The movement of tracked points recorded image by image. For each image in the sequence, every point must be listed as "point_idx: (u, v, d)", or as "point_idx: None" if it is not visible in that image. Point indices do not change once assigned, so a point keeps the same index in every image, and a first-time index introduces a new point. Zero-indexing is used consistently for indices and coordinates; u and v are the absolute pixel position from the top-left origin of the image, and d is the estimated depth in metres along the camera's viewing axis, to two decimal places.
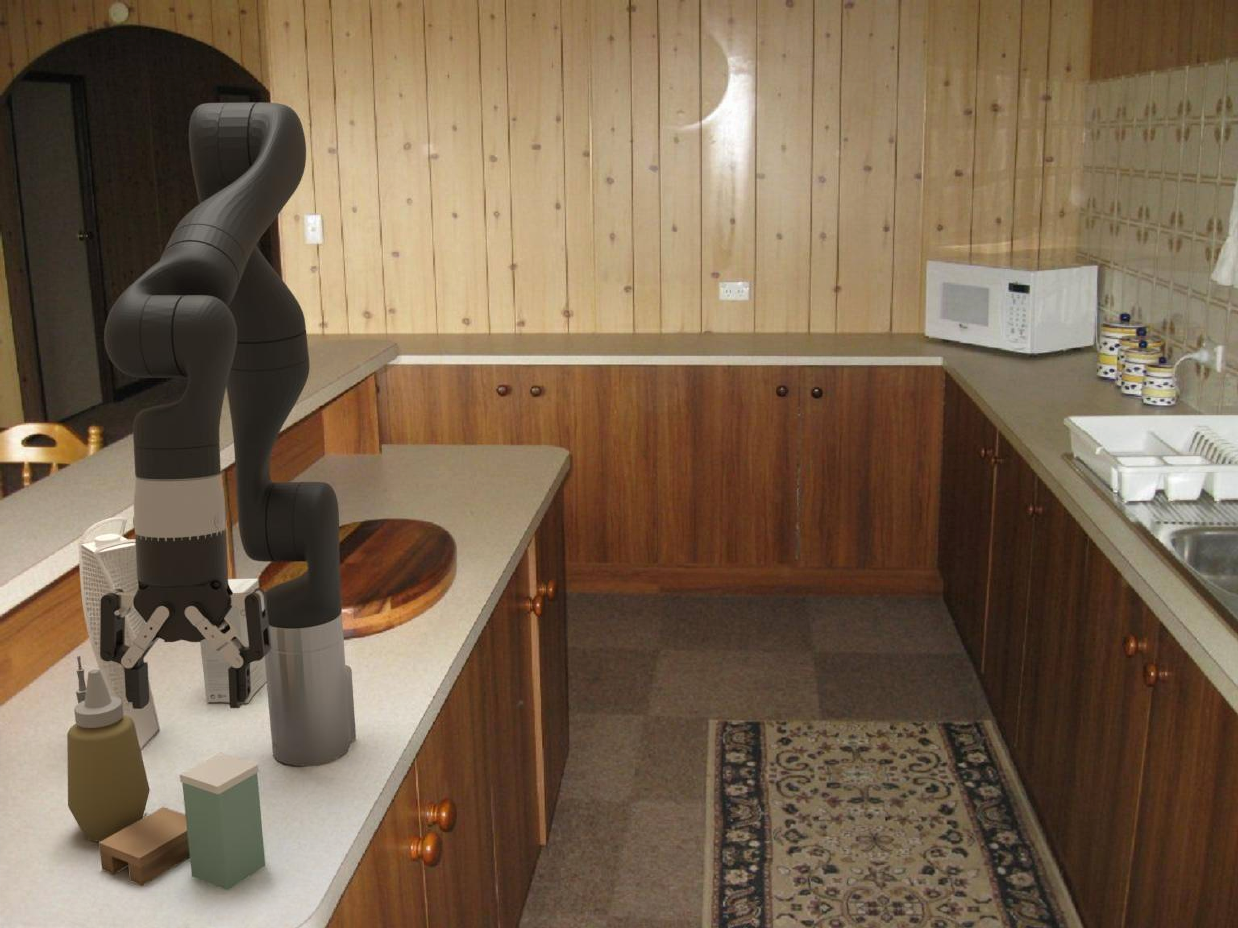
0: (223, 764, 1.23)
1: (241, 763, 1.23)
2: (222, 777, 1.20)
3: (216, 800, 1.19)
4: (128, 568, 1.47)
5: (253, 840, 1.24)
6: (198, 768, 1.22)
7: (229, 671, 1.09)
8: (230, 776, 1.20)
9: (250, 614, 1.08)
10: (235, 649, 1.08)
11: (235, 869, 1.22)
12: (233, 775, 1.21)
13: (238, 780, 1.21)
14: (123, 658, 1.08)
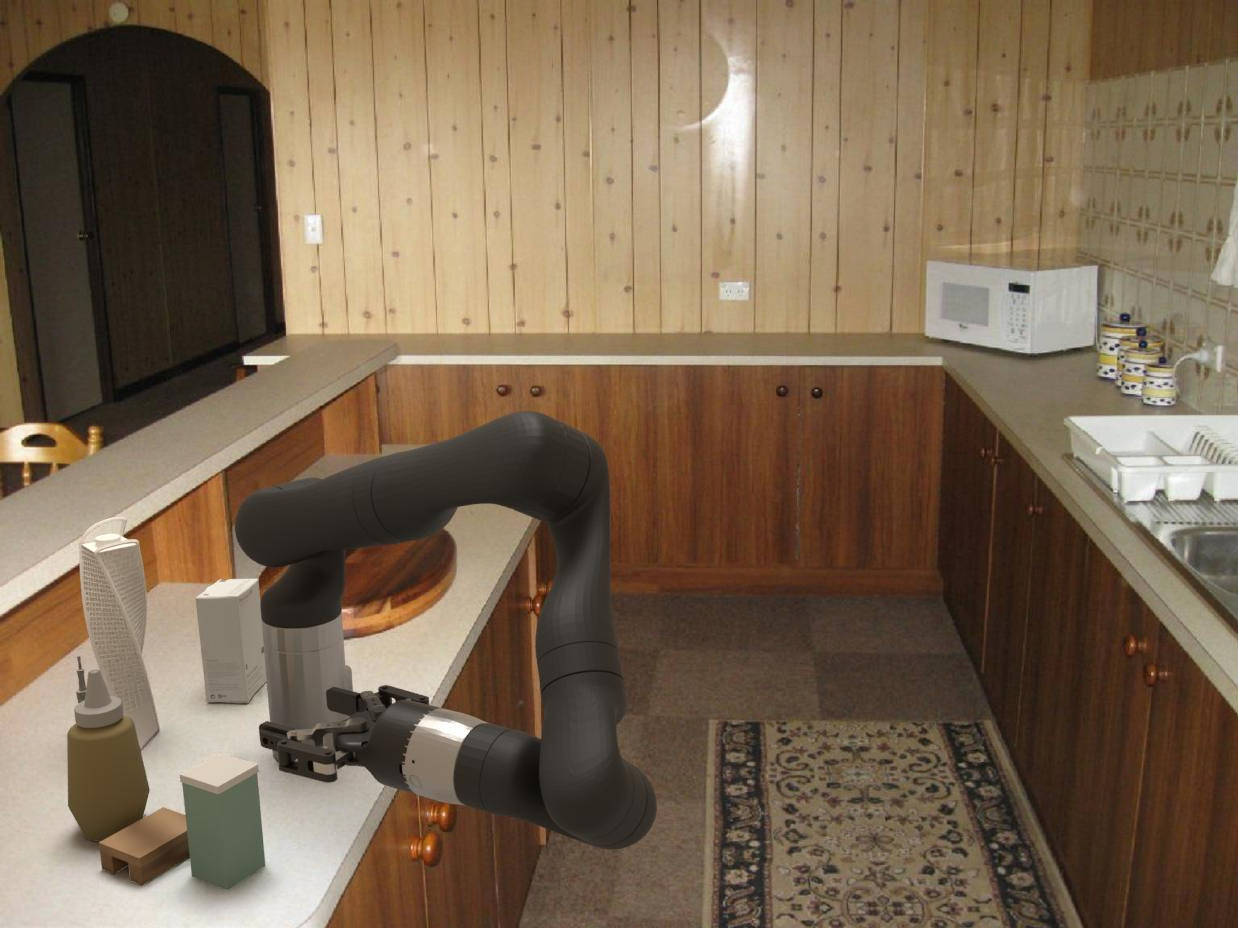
0: (223, 764, 1.23)
1: (241, 763, 1.23)
2: (222, 777, 1.20)
3: (216, 800, 1.19)
4: (128, 568, 1.47)
5: (253, 840, 1.24)
6: (198, 768, 1.22)
7: None
8: (229, 776, 1.20)
9: None
10: None
11: (235, 869, 1.22)
12: (233, 775, 1.21)
13: (238, 780, 1.21)
14: (294, 760, 1.08)
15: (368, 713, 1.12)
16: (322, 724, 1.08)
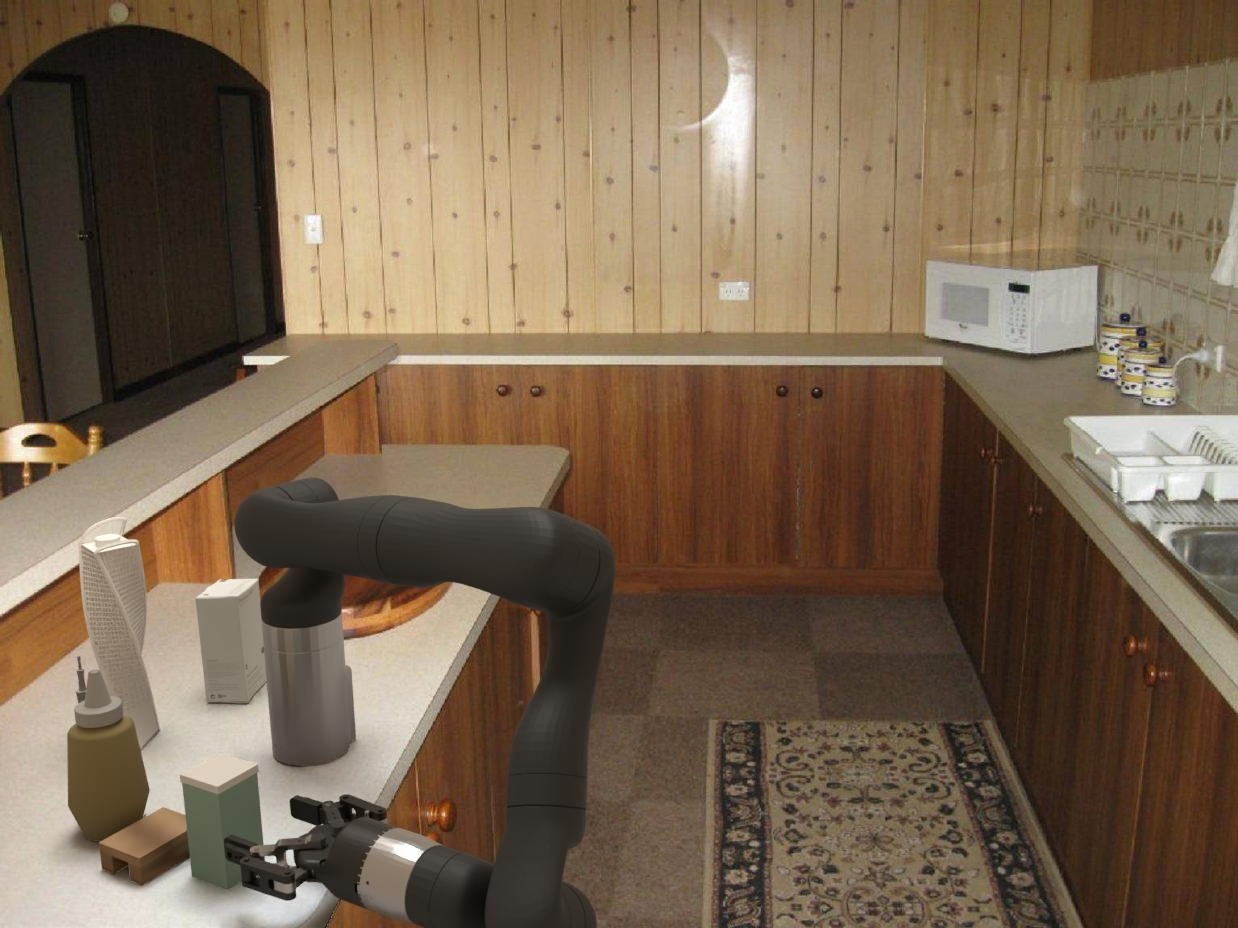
0: (223, 764, 1.23)
1: (241, 763, 1.23)
2: (222, 777, 1.20)
3: (216, 800, 1.19)
4: (128, 568, 1.47)
5: (253, 840, 1.24)
6: (198, 768, 1.22)
7: (317, 825, 1.23)
8: (229, 776, 1.20)
9: None
10: None
11: (235, 869, 1.22)
12: (233, 775, 1.21)
13: (238, 780, 1.21)
14: None
15: (328, 826, 1.18)
16: (283, 841, 1.14)
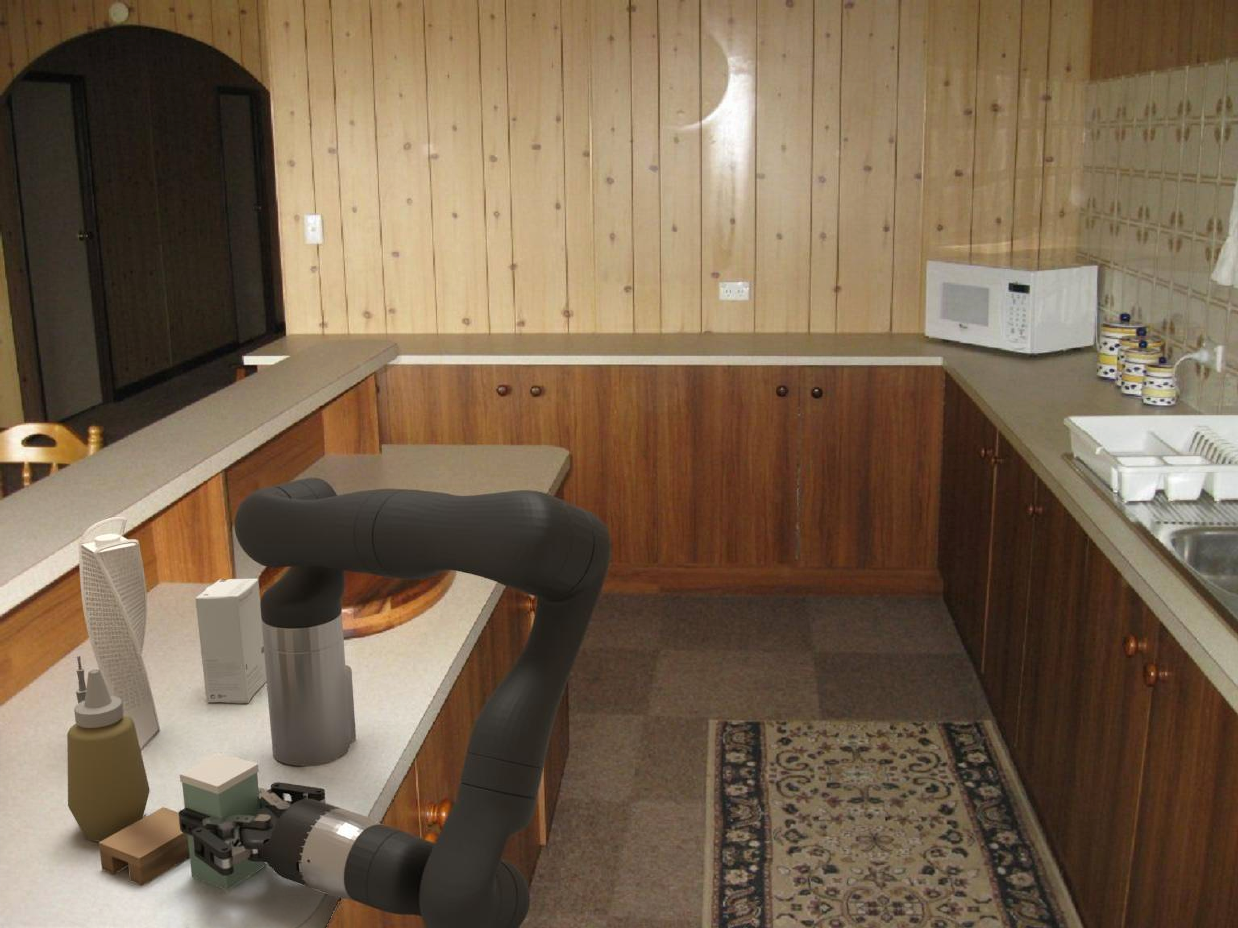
0: (223, 764, 1.23)
1: (241, 763, 1.23)
2: (222, 777, 1.20)
3: (216, 800, 1.19)
4: (128, 568, 1.47)
5: None
6: (198, 768, 1.22)
7: None
8: (229, 776, 1.20)
9: None
10: None
11: (234, 868, 1.22)
12: (233, 775, 1.21)
13: (238, 780, 1.21)
14: None
15: (270, 810, 1.21)
16: (233, 816, 1.19)
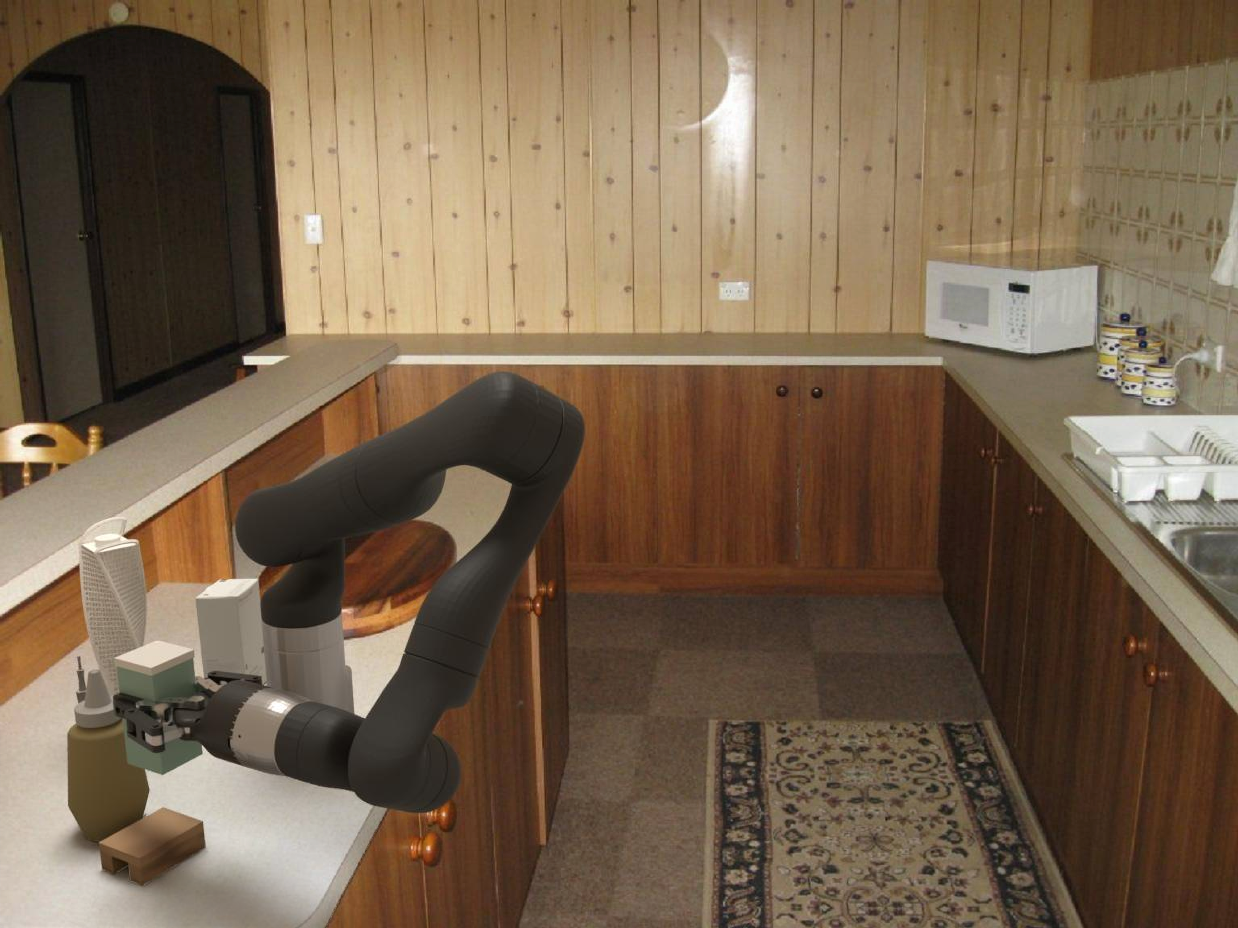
0: (158, 649, 1.22)
1: (177, 648, 1.22)
2: (156, 660, 1.19)
3: (150, 682, 1.18)
4: (128, 568, 1.47)
5: None
6: (133, 653, 1.21)
7: None
8: (164, 659, 1.19)
9: None
10: None
11: (170, 754, 1.21)
12: (168, 658, 1.20)
13: (173, 664, 1.20)
14: None
15: (205, 694, 1.20)
16: (166, 698, 1.18)
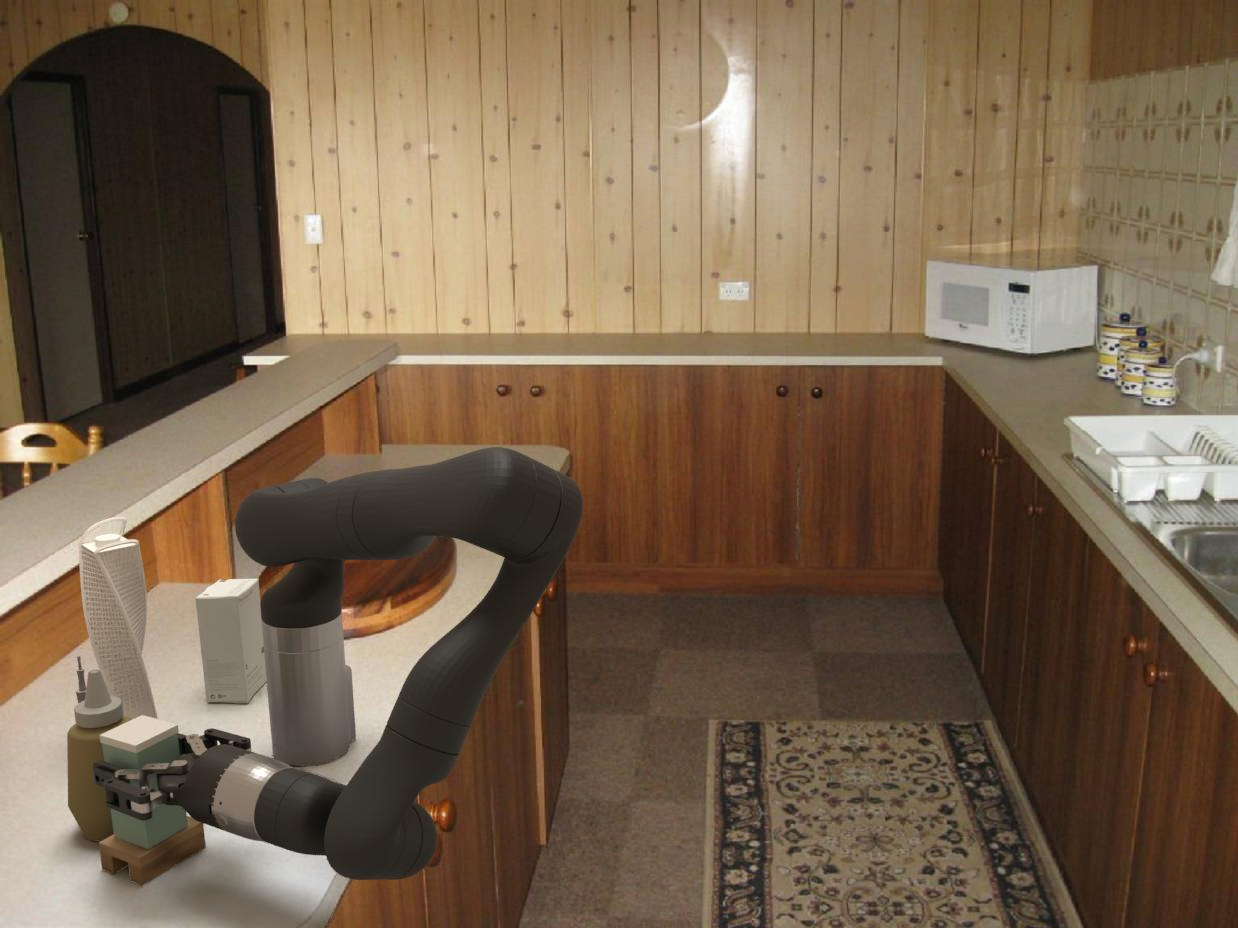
0: (143, 725, 1.25)
1: (161, 724, 1.25)
2: (141, 737, 1.22)
3: (134, 759, 1.21)
4: (128, 568, 1.47)
5: None
6: (118, 729, 1.24)
7: None
8: (148, 736, 1.22)
9: None
10: None
11: (155, 828, 1.23)
12: (152, 735, 1.22)
13: (157, 740, 1.22)
14: None
15: (192, 756, 1.23)
16: (147, 765, 1.19)
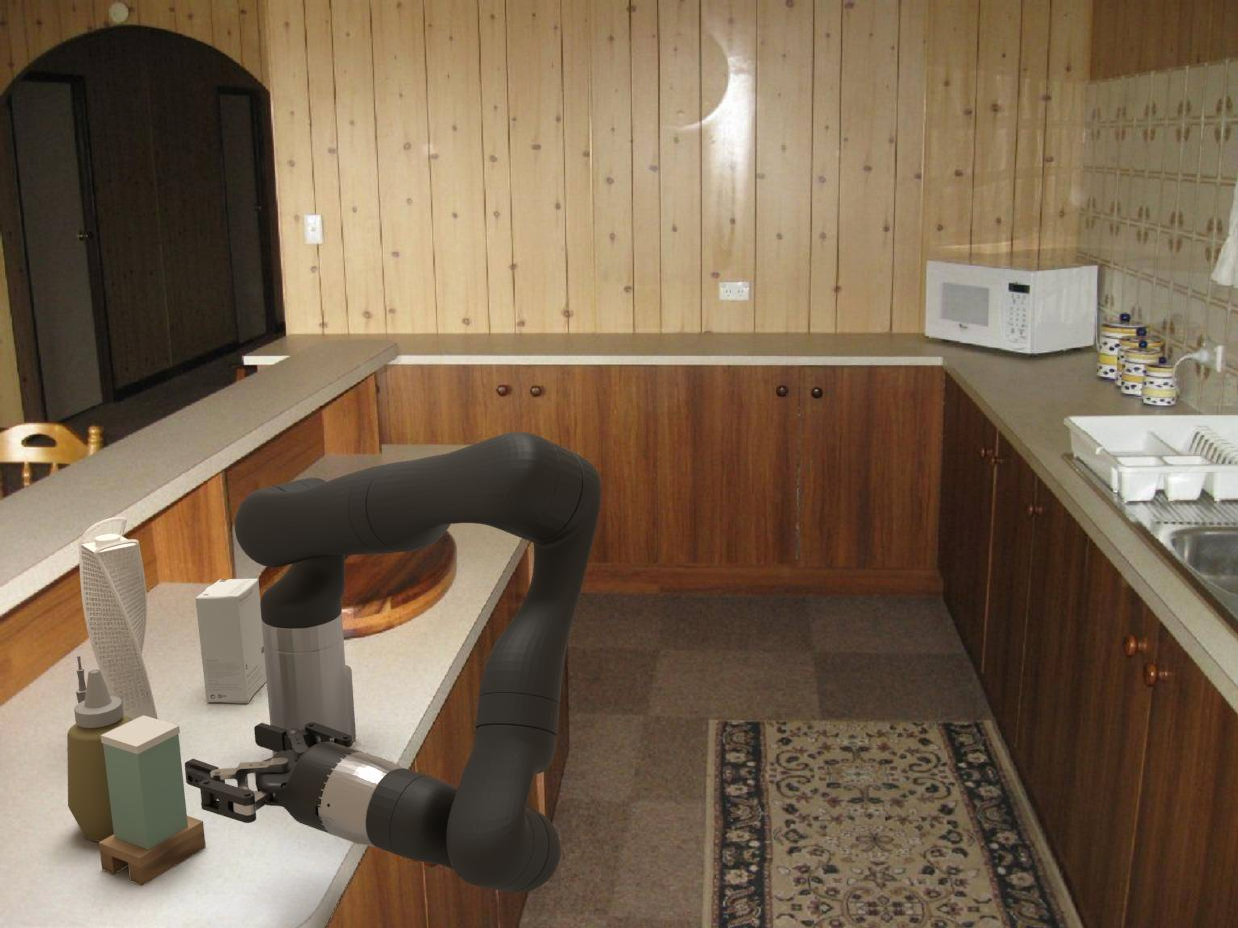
0: (144, 725, 1.25)
1: (162, 725, 1.25)
2: (142, 738, 1.22)
3: (136, 760, 1.21)
4: (128, 568, 1.47)
5: (175, 801, 1.25)
6: (119, 729, 1.24)
7: None
8: (149, 737, 1.22)
9: None
10: None
11: (156, 828, 1.23)
12: (153, 736, 1.22)
13: (158, 741, 1.22)
14: (217, 798, 1.12)
15: (291, 752, 1.16)
16: (245, 764, 1.12)
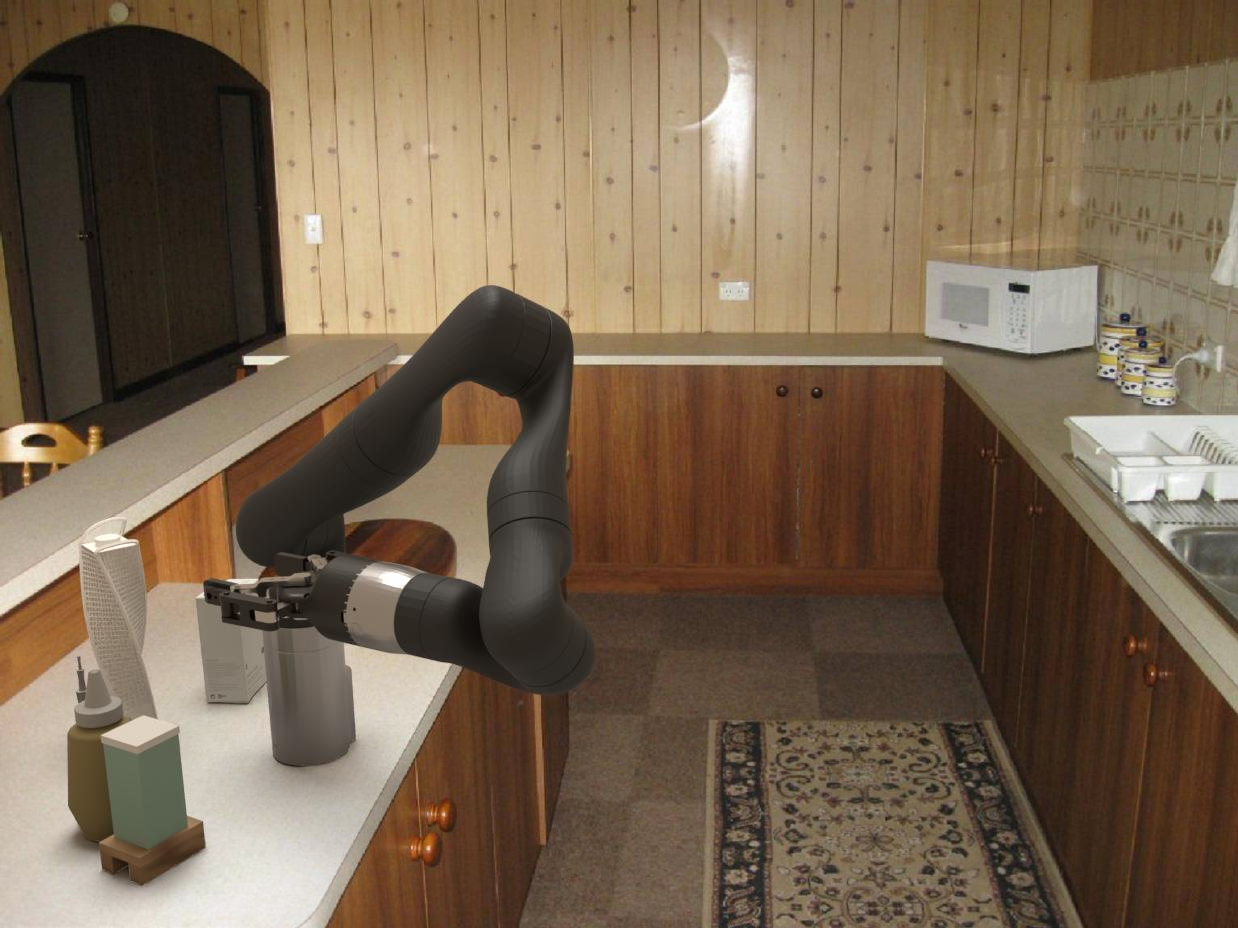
0: (144, 725, 1.25)
1: (162, 725, 1.25)
2: (142, 738, 1.22)
3: (136, 760, 1.21)
4: (128, 568, 1.47)
5: (175, 801, 1.25)
6: (119, 729, 1.24)
7: None
8: (149, 737, 1.22)
9: None
10: None
11: (156, 828, 1.23)
12: (153, 736, 1.22)
13: (158, 741, 1.22)
14: (238, 614, 1.08)
15: (313, 572, 1.12)
16: (266, 579, 1.08)
